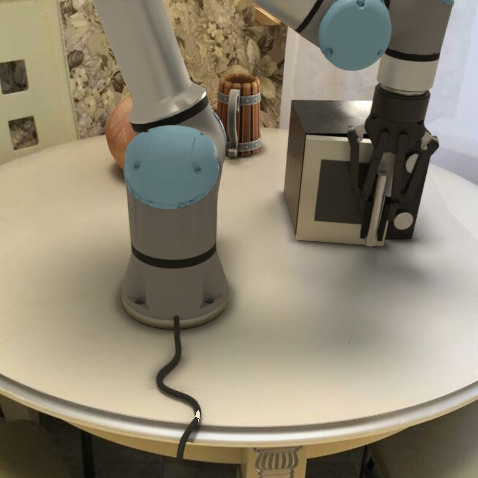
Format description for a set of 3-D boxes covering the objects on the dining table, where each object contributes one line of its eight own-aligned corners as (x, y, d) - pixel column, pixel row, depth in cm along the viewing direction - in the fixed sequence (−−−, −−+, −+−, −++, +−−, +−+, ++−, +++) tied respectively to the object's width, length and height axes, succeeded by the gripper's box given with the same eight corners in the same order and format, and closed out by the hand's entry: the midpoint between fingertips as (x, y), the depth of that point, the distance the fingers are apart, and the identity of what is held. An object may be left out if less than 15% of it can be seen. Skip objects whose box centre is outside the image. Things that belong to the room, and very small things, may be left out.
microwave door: (386, 263, 99) (407, 159, 88) (295, 256, 100) (305, 151, 89) (382, 241, 104) (402, 141, 94) (296, 235, 105) (306, 134, 95)
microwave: (413, 241, 105) (436, 139, 94) (297, 242, 104) (307, 138, 93) (385, 193, 120) (403, 101, 109) (283, 193, 118) (291, 99, 108)
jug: (215, 178, 123) (216, 75, 111) (130, 196, 115) (122, 87, 104) (175, 146, 136) (172, 51, 124) (96, 160, 128) (85, 60, 116)
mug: (217, 137, 141) (218, 69, 132) (263, 141, 140) (267, 73, 131) (204, 164, 128) (205, 91, 119) (255, 169, 127) (259, 96, 118)
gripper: (457, 84, 86) (418, 230, 100) (349, 72, 88) (325, 217, 102) (463, 102, 80) (420, 255, 94) (346, 88, 82) (322, 240, 96)
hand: (371, 235), depth 98 cm, fingers open, 2 cm apart
